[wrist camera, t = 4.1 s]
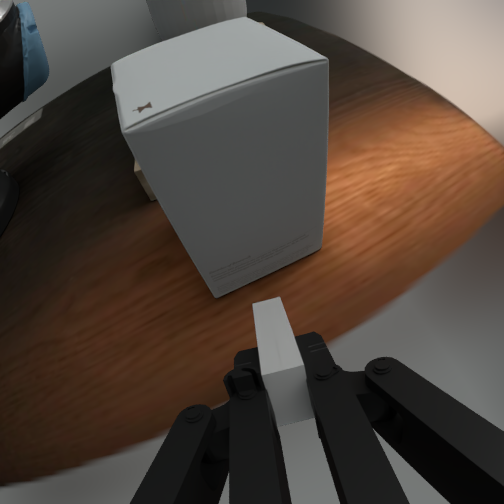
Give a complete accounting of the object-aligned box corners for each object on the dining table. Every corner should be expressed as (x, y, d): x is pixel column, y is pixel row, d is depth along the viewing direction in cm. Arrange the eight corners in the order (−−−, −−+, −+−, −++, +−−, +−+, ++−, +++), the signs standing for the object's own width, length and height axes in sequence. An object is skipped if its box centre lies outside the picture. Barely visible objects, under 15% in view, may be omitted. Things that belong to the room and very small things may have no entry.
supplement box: (326, 249, 23) (337, 57, 11) (215, 302, 22) (114, 135, 10) (272, 173, 28) (248, 12, 15) (179, 213, 27) (106, 62, 14)
